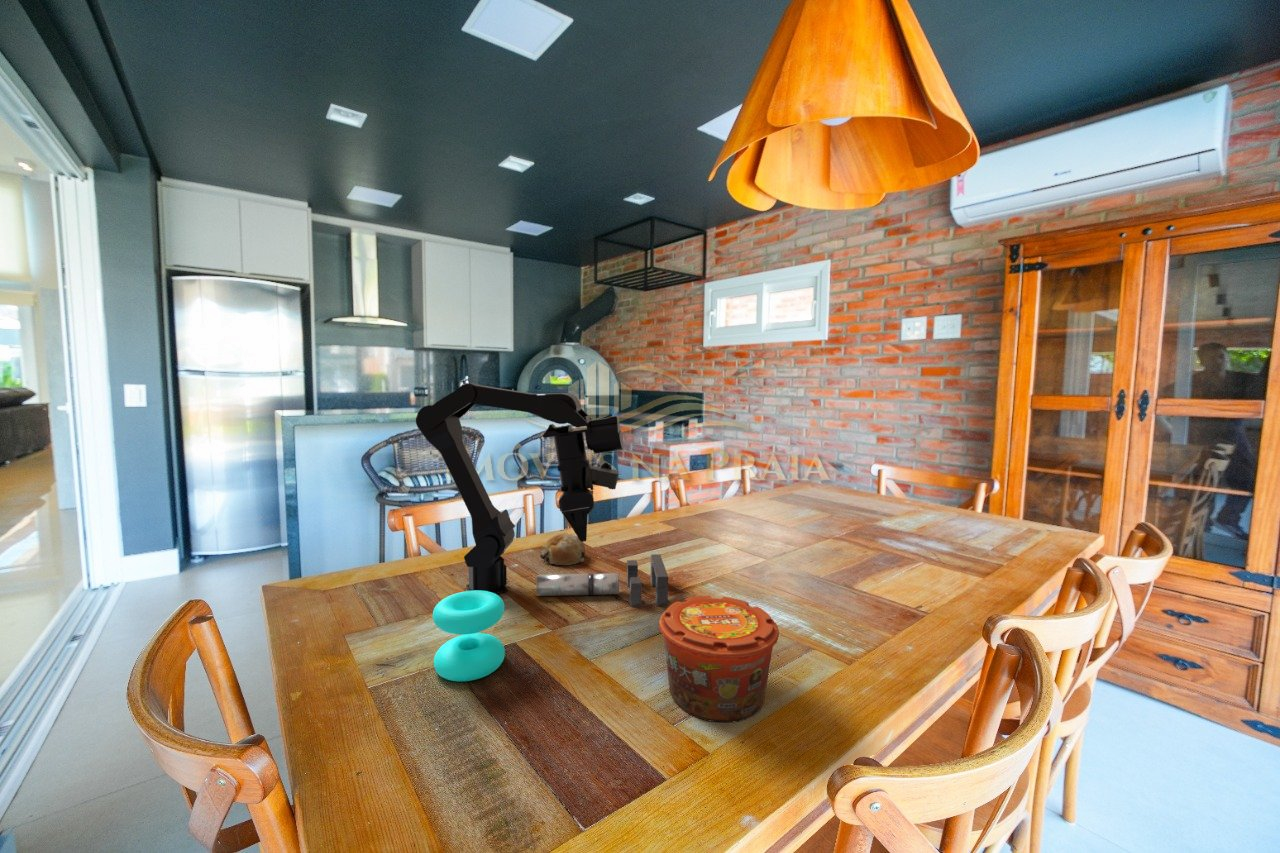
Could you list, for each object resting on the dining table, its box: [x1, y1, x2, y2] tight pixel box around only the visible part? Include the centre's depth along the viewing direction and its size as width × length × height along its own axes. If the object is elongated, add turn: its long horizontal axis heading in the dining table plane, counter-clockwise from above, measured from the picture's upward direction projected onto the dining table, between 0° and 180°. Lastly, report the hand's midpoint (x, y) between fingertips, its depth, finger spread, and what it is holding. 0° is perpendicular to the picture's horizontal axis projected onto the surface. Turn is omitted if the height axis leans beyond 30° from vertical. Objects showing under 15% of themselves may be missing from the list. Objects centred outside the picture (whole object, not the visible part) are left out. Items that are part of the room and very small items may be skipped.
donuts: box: [432, 590, 506, 682], centre depth 76 cm, size 10×10×10 cm
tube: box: [535, 572, 620, 597], centre depth 102 cm, size 16×4×4 cm, turn 95°
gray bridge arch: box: [649, 553, 669, 607], centre depth 104 cm, size 2×12×6 cm, turn 5°
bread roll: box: [540, 532, 586, 566], centre depth 122 cm, size 10×10×8 cm
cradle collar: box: [626, 559, 643, 608], centre depth 103 cm, size 2×12×4 cm, turn 5°
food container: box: [658, 595, 780, 723], centre depth 70 cm, size 16×16×11 cm
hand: (583, 534), depth 102 cm, fingers open, 9 cm apart
